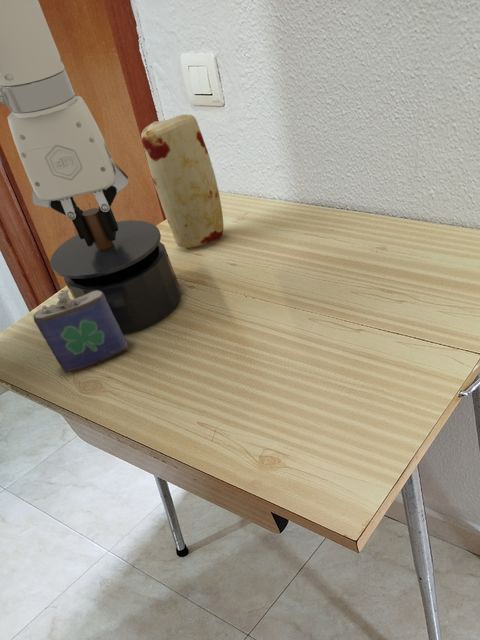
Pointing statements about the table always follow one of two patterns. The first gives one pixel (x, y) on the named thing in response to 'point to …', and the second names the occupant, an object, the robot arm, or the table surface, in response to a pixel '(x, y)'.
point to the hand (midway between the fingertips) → (101, 238)
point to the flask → (81, 331)
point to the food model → (184, 180)
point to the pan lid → (104, 248)
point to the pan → (136, 291)
